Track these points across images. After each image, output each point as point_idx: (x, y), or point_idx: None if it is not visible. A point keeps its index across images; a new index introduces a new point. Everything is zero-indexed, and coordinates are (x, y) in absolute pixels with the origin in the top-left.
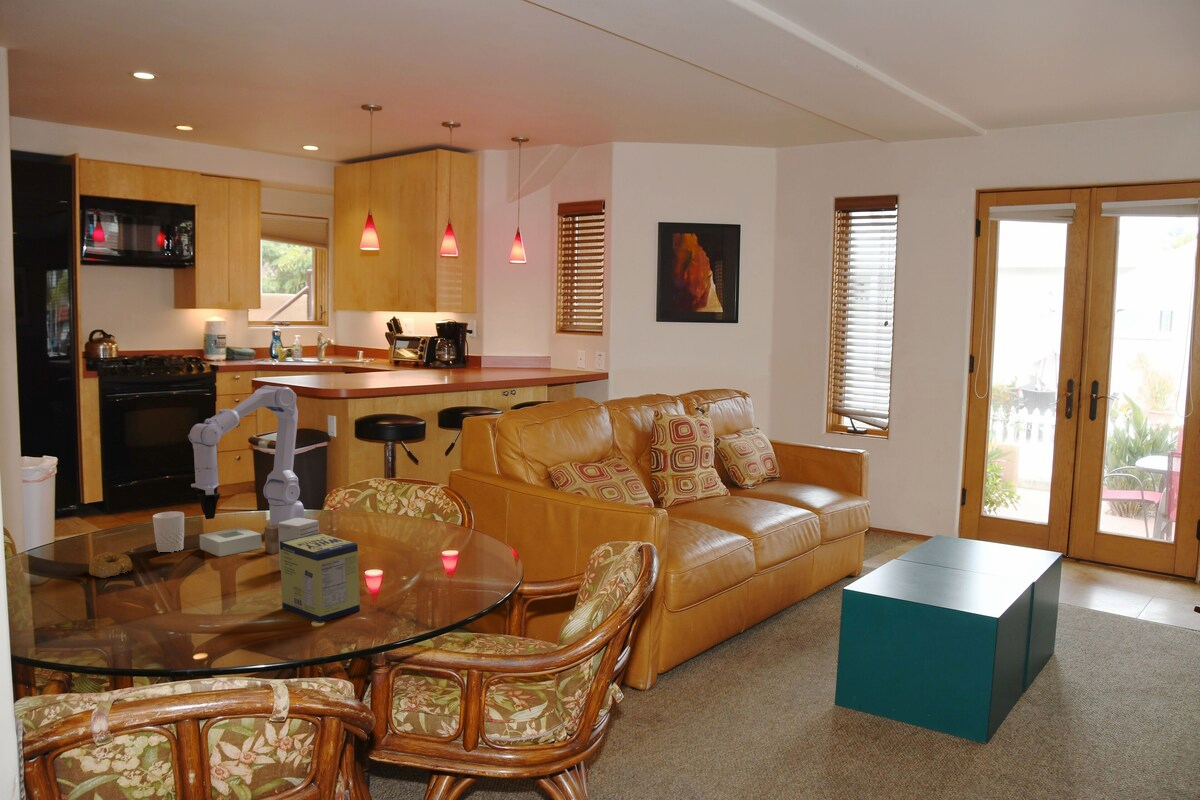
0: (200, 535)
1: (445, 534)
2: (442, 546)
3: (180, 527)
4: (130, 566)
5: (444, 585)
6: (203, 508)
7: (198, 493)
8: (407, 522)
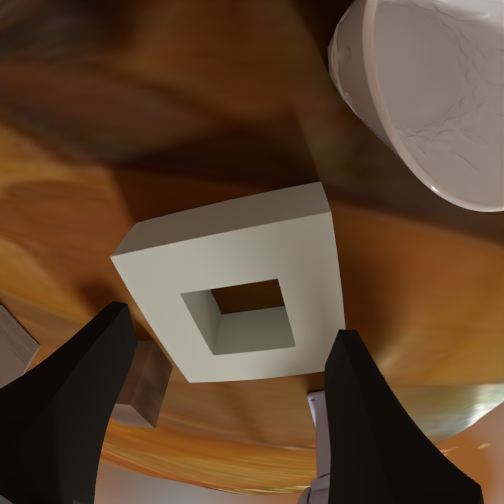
0: (316, 213)
1: (169, 473)
2: (111, 453)
3: (364, 120)
4: None
5: None
6: (50, 356)
7: (383, 495)
8: (261, 481)
